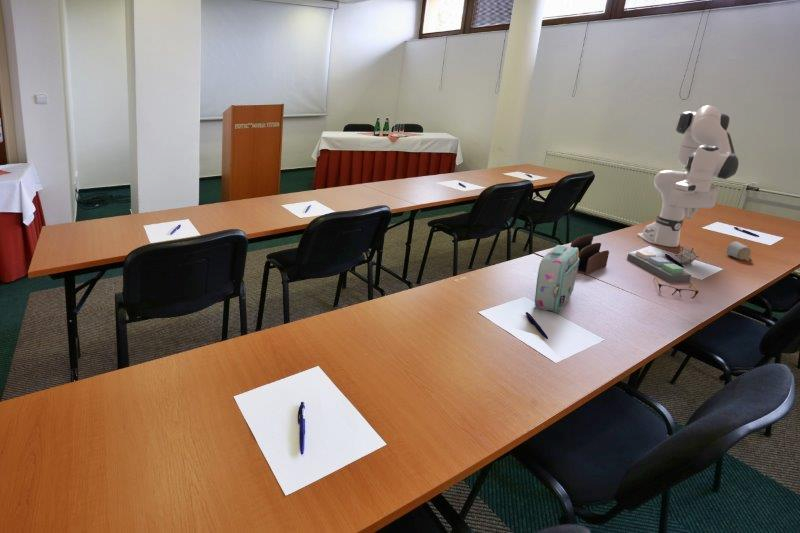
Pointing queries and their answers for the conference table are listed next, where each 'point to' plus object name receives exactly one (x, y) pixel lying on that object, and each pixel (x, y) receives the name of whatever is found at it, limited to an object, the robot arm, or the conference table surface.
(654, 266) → the button panel
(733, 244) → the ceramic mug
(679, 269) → the green button
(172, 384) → the conference table surface
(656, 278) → the eyeglasses
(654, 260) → the slate blue button
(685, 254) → the game die
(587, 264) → the letter holder
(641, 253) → the cream button
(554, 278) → the lunch box
